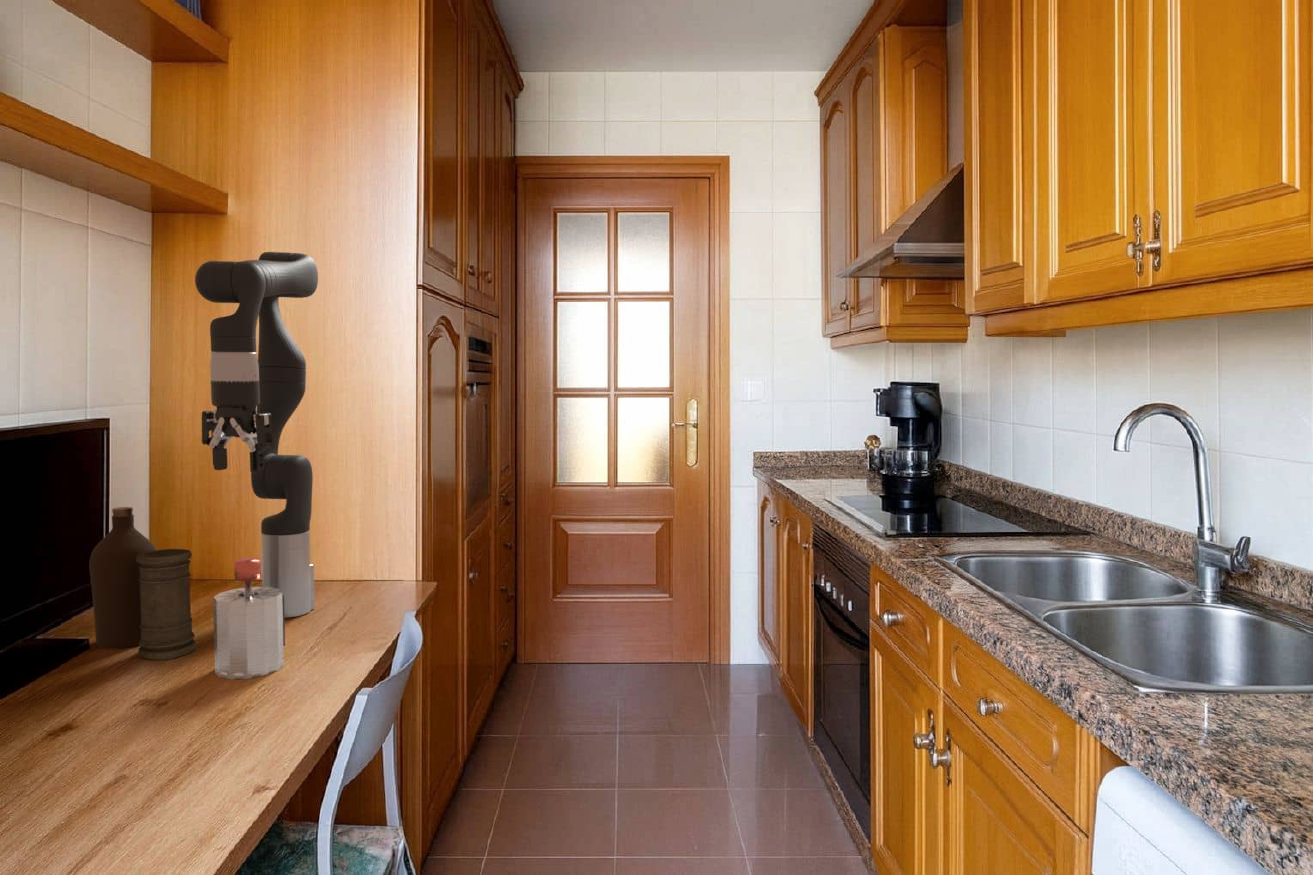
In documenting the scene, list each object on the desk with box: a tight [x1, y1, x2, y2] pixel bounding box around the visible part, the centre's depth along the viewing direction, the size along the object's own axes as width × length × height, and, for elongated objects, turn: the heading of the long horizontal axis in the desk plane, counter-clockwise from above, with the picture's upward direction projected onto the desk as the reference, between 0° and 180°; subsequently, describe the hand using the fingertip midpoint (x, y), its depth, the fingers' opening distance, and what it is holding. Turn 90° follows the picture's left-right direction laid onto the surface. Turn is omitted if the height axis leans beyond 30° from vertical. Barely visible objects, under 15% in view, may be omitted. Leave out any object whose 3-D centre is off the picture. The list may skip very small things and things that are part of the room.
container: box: [136, 548, 197, 661], centre depth 145 cm, size 9×9×18 cm
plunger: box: [233, 557, 262, 597], centre depth 138 cm, size 7×7×17 cm
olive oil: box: [88, 506, 157, 650], centre depth 150 cm, size 11×11×25 cm
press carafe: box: [213, 586, 286, 680], centre depth 139 cm, size 12×10×13 cm
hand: (238, 471), depth 142 cm, fingers open, 8 cm apart
